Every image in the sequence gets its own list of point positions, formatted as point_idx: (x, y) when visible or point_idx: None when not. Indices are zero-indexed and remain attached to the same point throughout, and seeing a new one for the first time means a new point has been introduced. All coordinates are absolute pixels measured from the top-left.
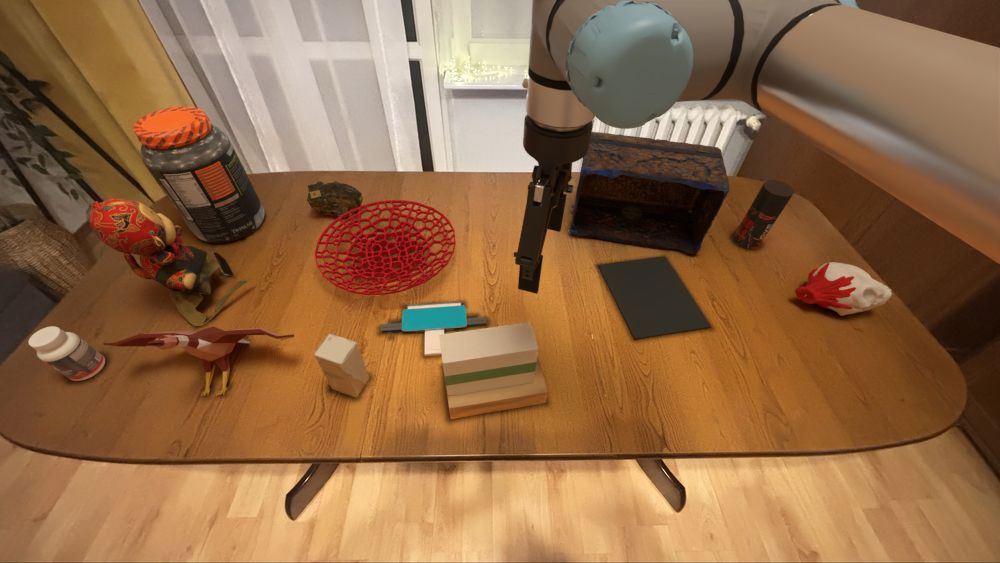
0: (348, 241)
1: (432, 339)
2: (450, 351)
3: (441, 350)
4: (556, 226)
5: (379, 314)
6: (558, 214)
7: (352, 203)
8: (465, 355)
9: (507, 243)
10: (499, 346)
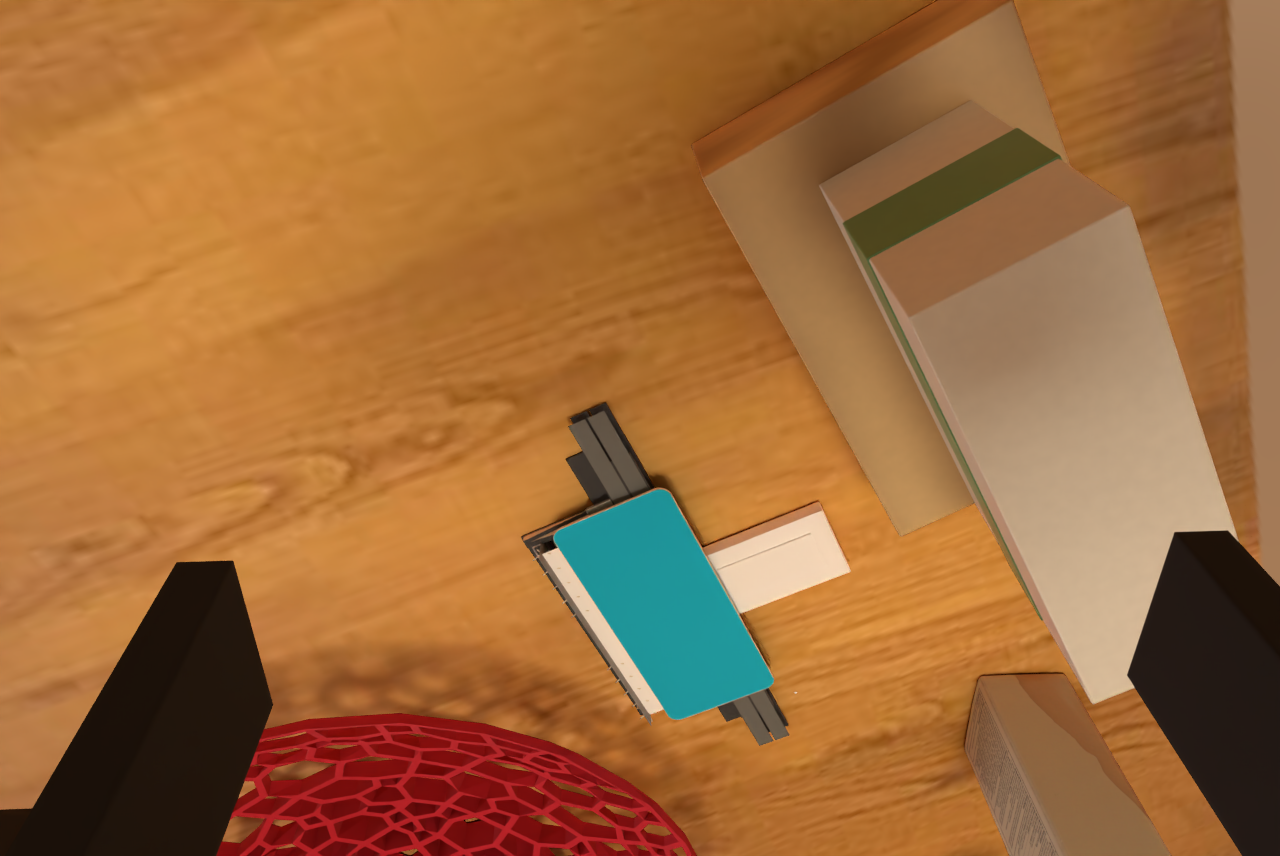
0: None
1: (773, 574)
2: None
3: None
4: (221, 643)
5: (706, 764)
6: (150, 790)
7: None
8: None
9: (12, 494)
10: (1135, 430)
